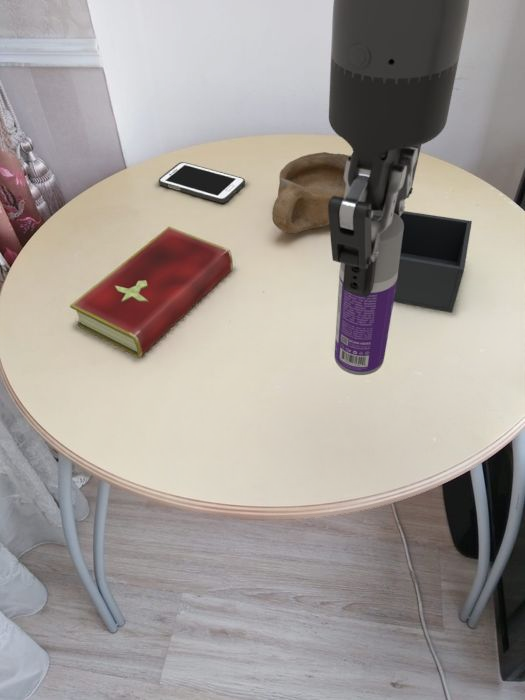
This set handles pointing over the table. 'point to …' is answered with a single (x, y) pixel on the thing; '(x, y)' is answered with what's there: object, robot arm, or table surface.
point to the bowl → (308, 191)
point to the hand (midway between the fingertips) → (369, 271)
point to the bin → (431, 260)
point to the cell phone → (202, 182)
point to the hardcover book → (152, 290)
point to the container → (369, 309)
